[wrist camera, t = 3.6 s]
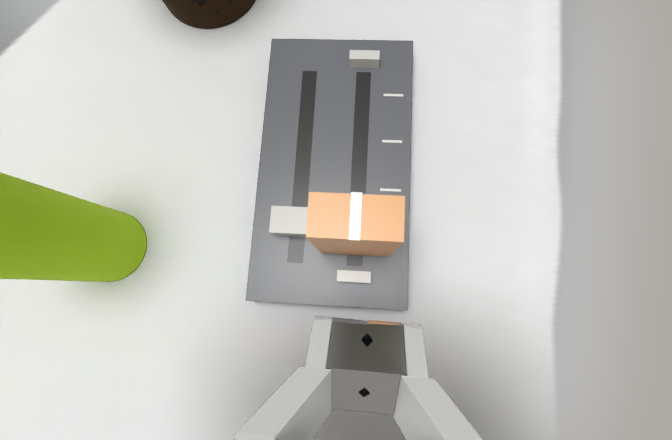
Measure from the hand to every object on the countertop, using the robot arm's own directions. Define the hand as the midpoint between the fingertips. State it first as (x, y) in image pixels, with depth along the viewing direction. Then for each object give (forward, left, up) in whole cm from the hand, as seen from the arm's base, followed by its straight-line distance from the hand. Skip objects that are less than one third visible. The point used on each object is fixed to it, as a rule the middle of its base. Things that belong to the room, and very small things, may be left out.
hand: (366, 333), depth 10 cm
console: (+11, +3, -19) cm, 22 cm away
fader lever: (+5, +1, -16) cm, 17 cm away
